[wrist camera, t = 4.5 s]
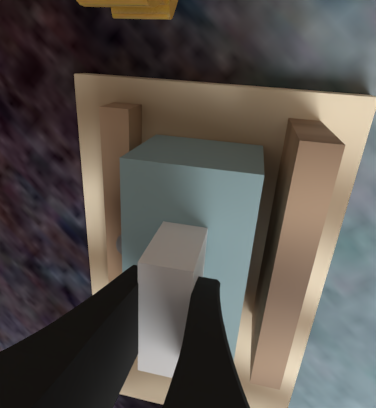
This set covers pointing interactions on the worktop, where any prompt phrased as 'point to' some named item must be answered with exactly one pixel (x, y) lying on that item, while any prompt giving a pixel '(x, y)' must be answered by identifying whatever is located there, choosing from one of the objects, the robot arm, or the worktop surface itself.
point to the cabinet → (187, 234)
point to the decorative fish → (135, 8)
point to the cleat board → (268, 209)
